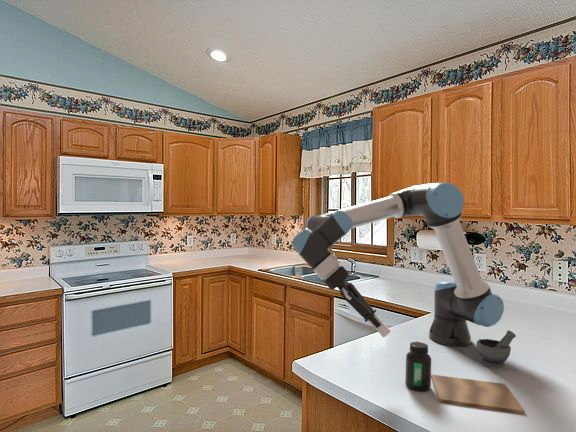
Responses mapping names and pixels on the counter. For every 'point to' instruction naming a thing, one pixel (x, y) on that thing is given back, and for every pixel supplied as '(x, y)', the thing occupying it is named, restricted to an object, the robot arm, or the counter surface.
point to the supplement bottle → (418, 367)
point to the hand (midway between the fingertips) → (387, 334)
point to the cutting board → (475, 394)
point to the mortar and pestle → (495, 350)
